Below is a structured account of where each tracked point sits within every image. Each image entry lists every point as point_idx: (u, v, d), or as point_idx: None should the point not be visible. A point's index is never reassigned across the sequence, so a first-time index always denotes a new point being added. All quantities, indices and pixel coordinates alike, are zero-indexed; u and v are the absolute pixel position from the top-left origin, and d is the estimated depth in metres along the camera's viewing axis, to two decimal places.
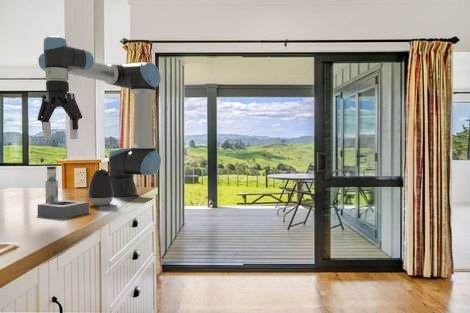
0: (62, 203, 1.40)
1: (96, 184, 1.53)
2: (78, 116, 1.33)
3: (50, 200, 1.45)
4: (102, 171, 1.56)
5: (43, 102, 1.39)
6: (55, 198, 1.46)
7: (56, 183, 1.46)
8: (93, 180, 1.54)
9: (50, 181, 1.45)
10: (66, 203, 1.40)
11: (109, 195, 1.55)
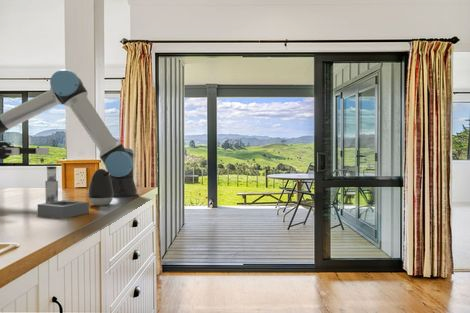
0: (62, 203, 1.40)
1: (96, 184, 1.53)
2: None
3: (50, 200, 1.45)
4: (102, 171, 1.56)
5: None
6: (55, 198, 1.46)
7: (56, 183, 1.46)
8: (93, 180, 1.54)
9: (50, 181, 1.45)
10: (66, 203, 1.40)
11: (109, 195, 1.55)
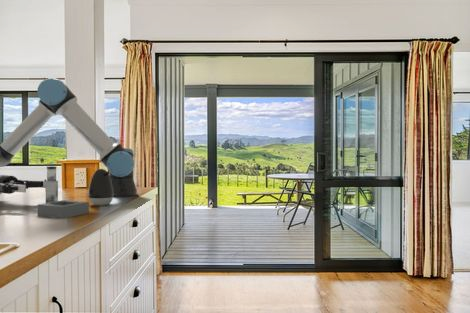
0: (62, 203, 1.40)
1: (96, 184, 1.53)
2: (2, 189, 1.42)
3: (50, 200, 1.45)
4: (102, 171, 1.56)
5: None
6: (55, 198, 1.46)
7: (56, 183, 1.46)
8: (93, 180, 1.54)
9: (50, 181, 1.45)
10: (66, 203, 1.40)
11: (109, 195, 1.55)
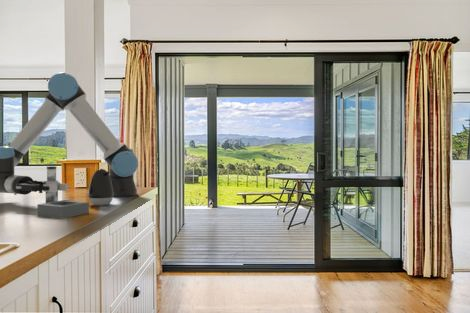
0: (62, 203, 1.40)
1: (96, 184, 1.53)
2: (34, 189, 1.42)
3: (50, 200, 1.45)
4: (102, 171, 1.56)
5: None
6: (55, 198, 1.46)
7: (56, 183, 1.46)
8: (93, 180, 1.54)
9: (50, 181, 1.45)
10: (66, 203, 1.40)
11: (109, 195, 1.55)
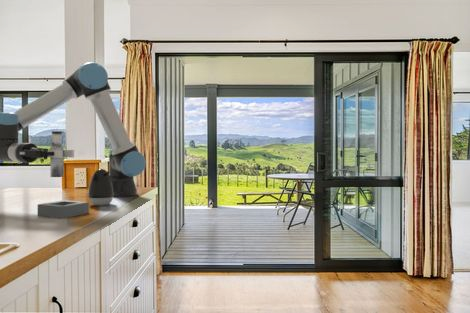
0: (62, 203, 1.40)
1: (96, 184, 1.53)
2: (38, 154, 1.34)
3: (55, 167, 1.36)
4: (102, 171, 1.56)
5: None
6: (60, 165, 1.37)
7: (61, 149, 1.37)
8: (93, 180, 1.54)
9: (55, 146, 1.36)
10: (66, 203, 1.40)
11: (109, 195, 1.55)
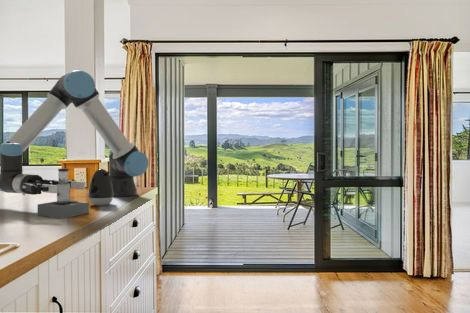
0: None
1: (96, 184, 1.53)
2: (32, 190, 1.29)
3: None
4: (102, 171, 1.56)
5: None
6: (67, 202, 1.35)
7: (68, 186, 1.35)
8: (93, 180, 1.54)
9: (62, 184, 1.34)
10: None
11: (109, 195, 1.55)
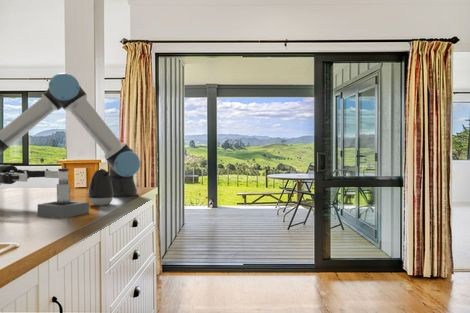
0: None
1: (96, 184, 1.53)
2: (2, 179, 1.35)
3: None
4: (102, 171, 1.56)
5: None
6: (67, 202, 1.35)
7: (68, 186, 1.35)
8: (93, 180, 1.54)
9: (62, 184, 1.34)
10: None
11: (109, 195, 1.55)
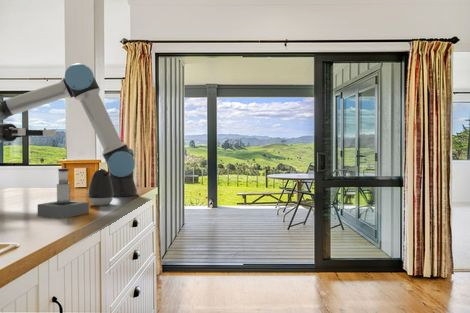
0: None
1: (96, 184, 1.53)
2: (2, 132, 1.41)
3: None
4: (102, 171, 1.56)
5: None
6: (67, 202, 1.35)
7: (68, 186, 1.35)
8: (93, 180, 1.54)
9: (62, 184, 1.34)
10: None
11: (109, 195, 1.55)
